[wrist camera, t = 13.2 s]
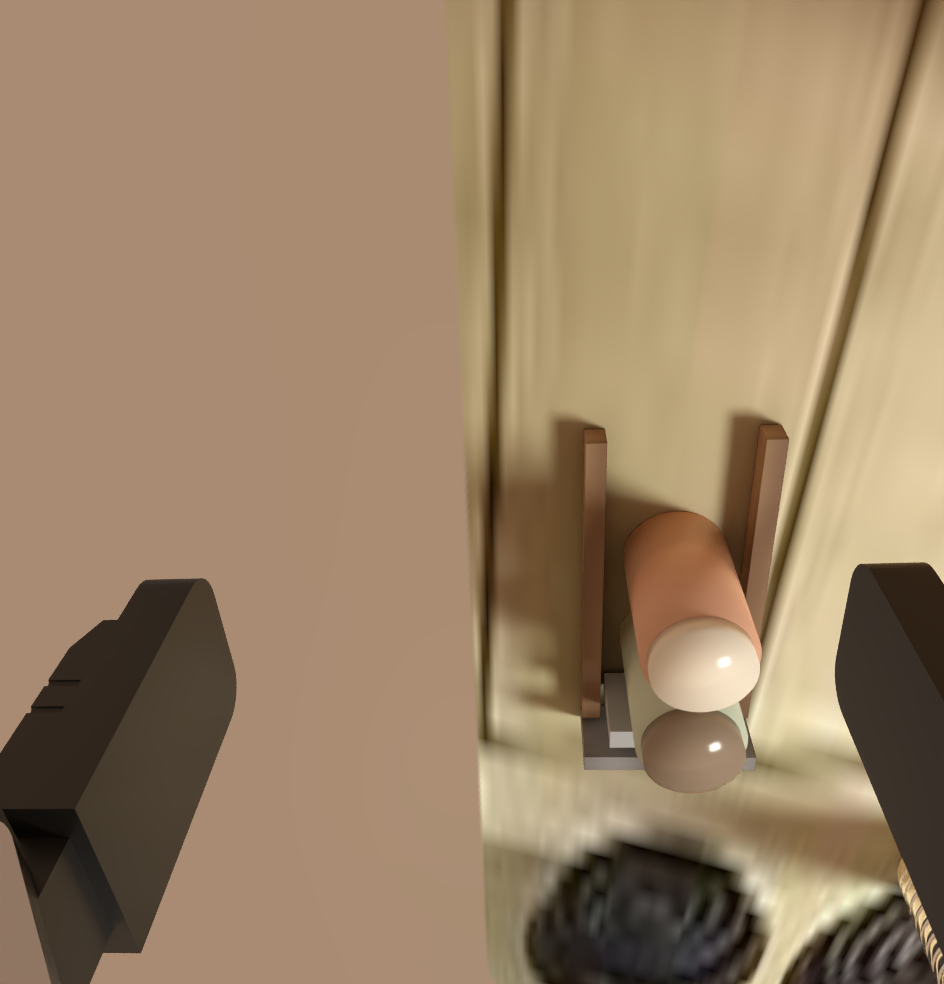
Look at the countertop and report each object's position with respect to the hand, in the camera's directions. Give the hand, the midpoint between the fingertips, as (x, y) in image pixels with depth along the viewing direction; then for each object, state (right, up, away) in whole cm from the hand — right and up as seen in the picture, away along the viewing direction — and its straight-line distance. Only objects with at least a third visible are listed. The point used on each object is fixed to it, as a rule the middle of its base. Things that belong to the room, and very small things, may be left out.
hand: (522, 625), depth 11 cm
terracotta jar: (+10, -2, +35) cm, 37 cm away
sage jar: (+10, -6, +38) cm, 40 cm away
